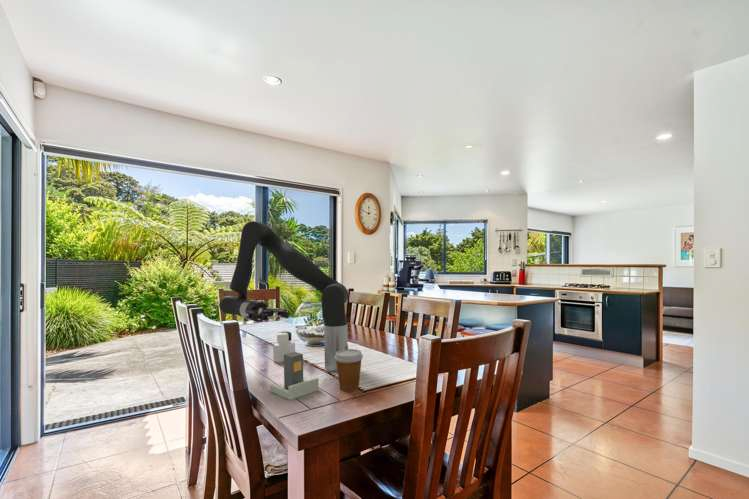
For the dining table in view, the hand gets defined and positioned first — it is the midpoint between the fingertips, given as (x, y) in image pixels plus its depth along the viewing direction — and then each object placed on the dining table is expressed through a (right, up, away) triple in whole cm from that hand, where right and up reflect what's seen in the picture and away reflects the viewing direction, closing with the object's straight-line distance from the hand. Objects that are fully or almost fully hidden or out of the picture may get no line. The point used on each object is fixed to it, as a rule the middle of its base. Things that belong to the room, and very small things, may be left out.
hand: (277, 316), depth 131 cm
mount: (+7, -23, -8) cm, 26 cm away
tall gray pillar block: (+7, -23, -8) cm, 26 cm away
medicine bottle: (-4, -24, +28) cm, 37 cm away
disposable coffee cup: (+26, -23, -7) cm, 35 cm away
